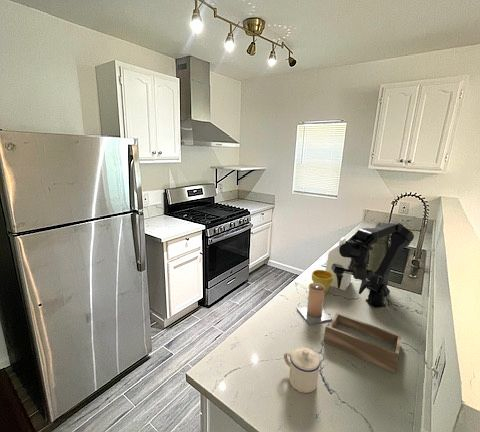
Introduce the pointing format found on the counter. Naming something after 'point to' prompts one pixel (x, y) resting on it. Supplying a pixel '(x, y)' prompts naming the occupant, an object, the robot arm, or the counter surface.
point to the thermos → (378, 251)
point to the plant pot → (322, 278)
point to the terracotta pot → (315, 299)
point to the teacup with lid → (303, 369)
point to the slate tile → (313, 320)
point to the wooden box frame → (363, 342)
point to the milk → (338, 259)
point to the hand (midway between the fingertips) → (348, 291)
